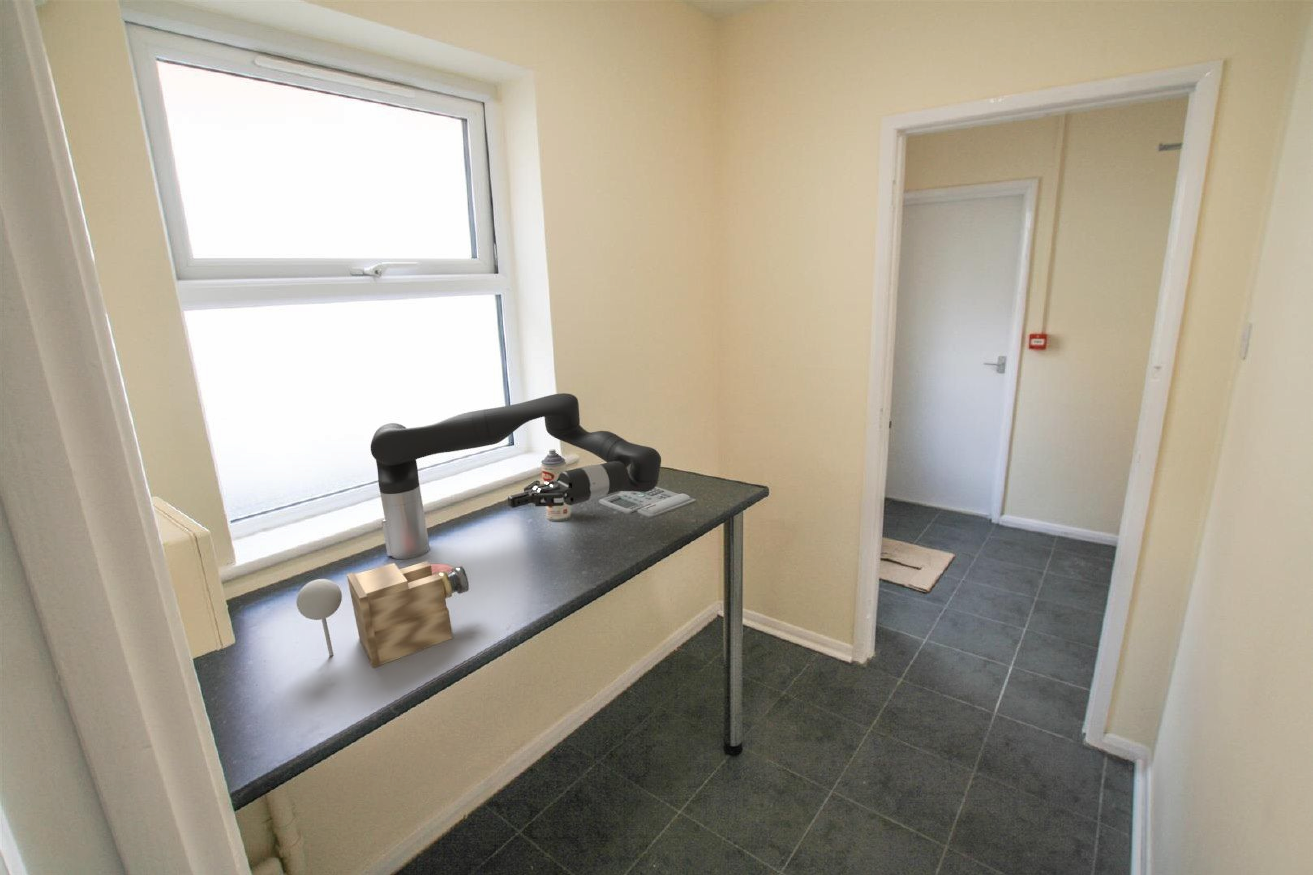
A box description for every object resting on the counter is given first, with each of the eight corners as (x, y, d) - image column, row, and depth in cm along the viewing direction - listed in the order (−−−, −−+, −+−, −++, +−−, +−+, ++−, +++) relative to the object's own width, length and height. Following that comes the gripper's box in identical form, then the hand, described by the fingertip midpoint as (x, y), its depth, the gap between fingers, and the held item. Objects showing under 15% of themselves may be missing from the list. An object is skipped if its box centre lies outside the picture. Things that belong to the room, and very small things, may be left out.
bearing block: (373, 667, 107) (359, 598, 104) (359, 638, 116) (346, 574, 113) (453, 637, 115) (442, 572, 112) (434, 612, 124) (424, 551, 121)
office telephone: (696, 495, 179) (646, 514, 166) (697, 503, 180) (646, 523, 167) (645, 478, 196) (595, 495, 183) (645, 486, 197) (596, 503, 184)
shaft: (376, 627, 110) (371, 601, 108) (370, 615, 114) (365, 590, 112) (470, 595, 119) (466, 571, 118) (461, 585, 123) (457, 562, 122)
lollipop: (359, 642, 115) (345, 570, 111) (341, 665, 108) (326, 589, 105) (321, 645, 115) (306, 573, 111) (301, 668, 108) (284, 592, 104)
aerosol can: (542, 518, 173) (534, 450, 168) (561, 511, 178) (555, 445, 173) (556, 523, 168) (549, 454, 163) (575, 516, 173) (569, 449, 168)
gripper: (568, 461, 138) (495, 477, 128) (598, 474, 127) (521, 492, 118) (570, 493, 140) (499, 510, 130) (600, 508, 129) (524, 528, 119)
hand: (509, 502), depth 124 cm, fingers closed
